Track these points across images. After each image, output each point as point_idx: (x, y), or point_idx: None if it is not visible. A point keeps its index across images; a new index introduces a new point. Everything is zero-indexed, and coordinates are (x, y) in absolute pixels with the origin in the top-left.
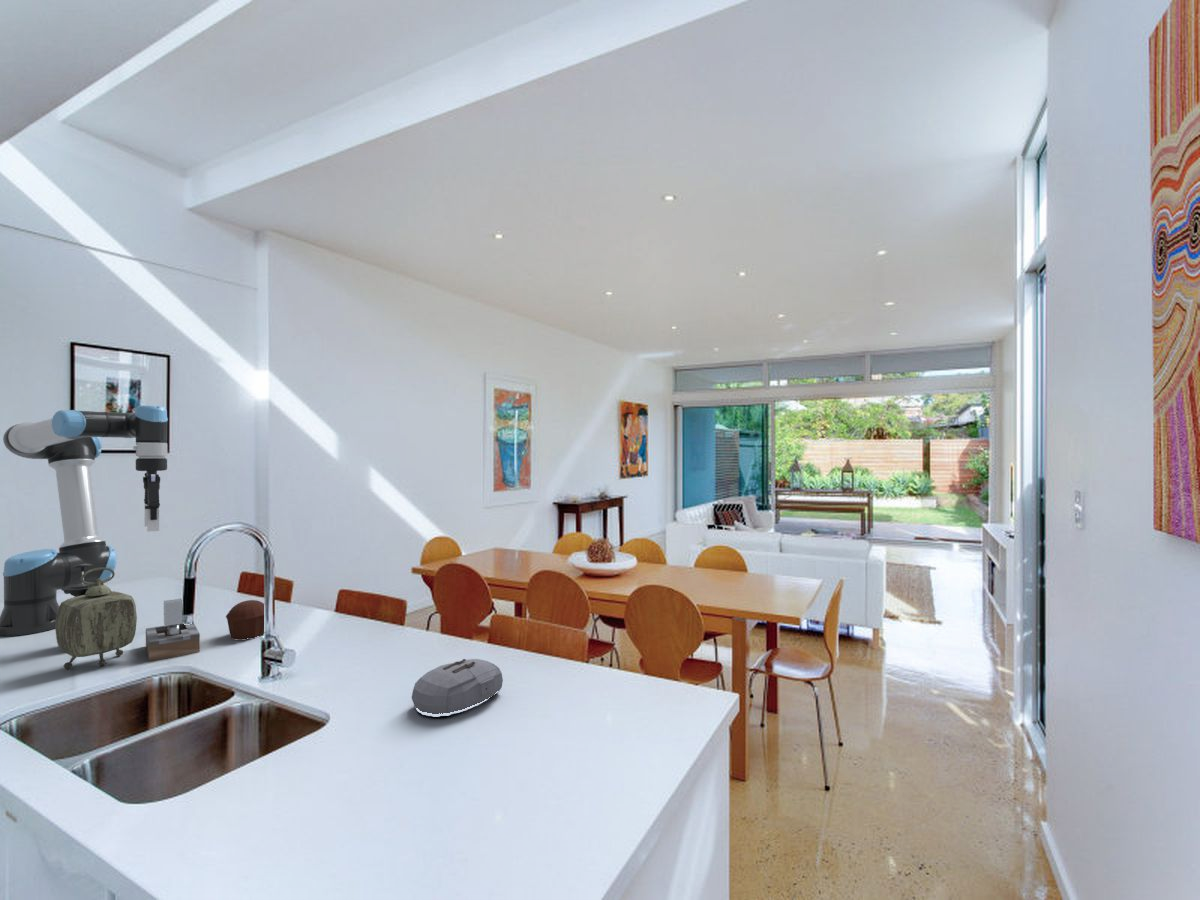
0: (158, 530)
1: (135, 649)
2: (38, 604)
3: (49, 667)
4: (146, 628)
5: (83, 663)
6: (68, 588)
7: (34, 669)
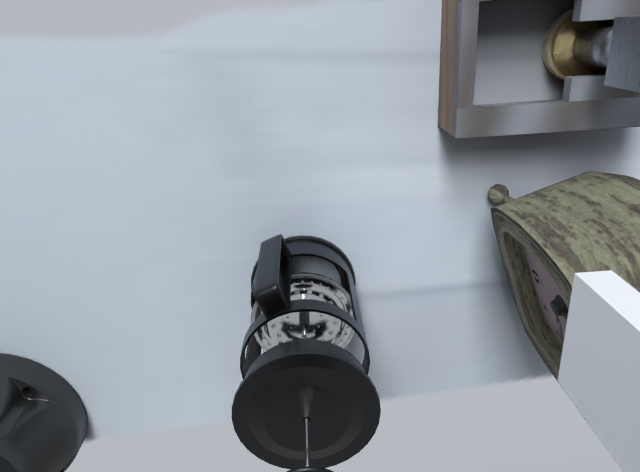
0: (610, 279)
1: (452, 152)
2: (16, 461)
3: (472, 327)
4: (457, 136)
5: (497, 265)
6: (332, 451)
7: (464, 351)
